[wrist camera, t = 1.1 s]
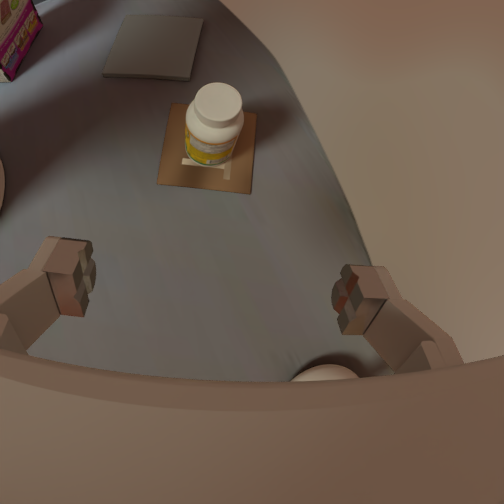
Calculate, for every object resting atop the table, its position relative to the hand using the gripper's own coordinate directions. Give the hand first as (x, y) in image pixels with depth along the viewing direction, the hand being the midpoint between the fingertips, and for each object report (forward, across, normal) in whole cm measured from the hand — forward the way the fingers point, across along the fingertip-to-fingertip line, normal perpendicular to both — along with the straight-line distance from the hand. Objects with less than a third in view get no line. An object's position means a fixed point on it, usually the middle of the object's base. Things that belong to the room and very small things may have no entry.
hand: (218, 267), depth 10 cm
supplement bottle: (+27, 0, +6) cm, 27 cm away
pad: (+36, +9, -4) cm, 38 cm away
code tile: (+27, 0, +6) cm, 27 cm away
